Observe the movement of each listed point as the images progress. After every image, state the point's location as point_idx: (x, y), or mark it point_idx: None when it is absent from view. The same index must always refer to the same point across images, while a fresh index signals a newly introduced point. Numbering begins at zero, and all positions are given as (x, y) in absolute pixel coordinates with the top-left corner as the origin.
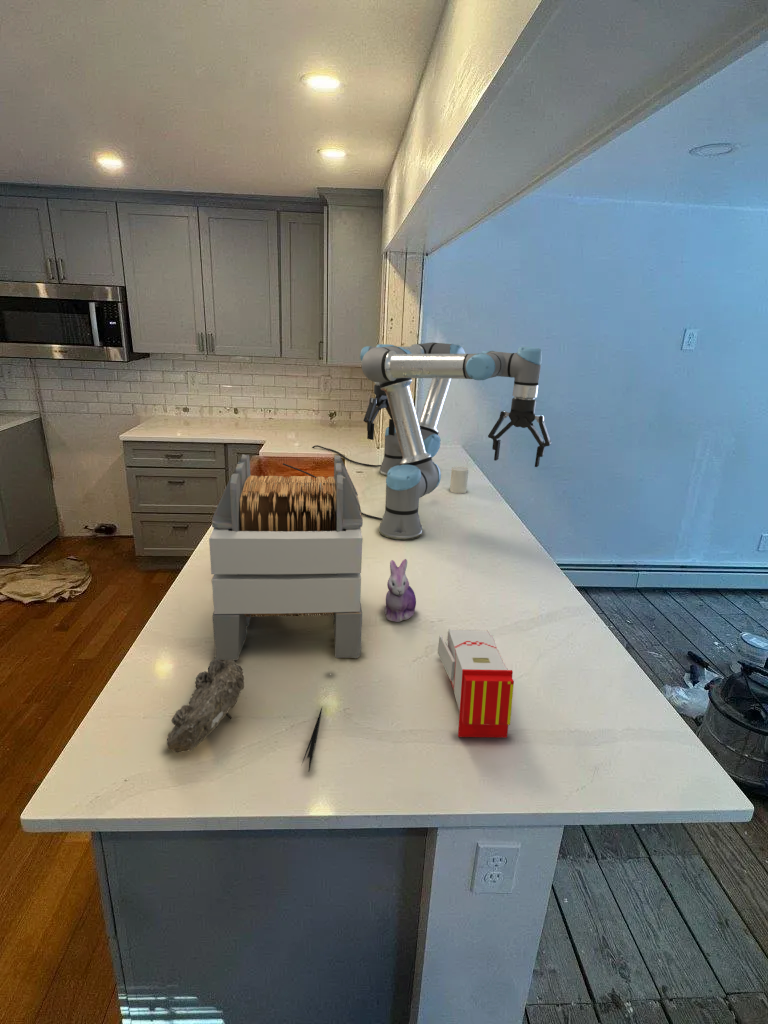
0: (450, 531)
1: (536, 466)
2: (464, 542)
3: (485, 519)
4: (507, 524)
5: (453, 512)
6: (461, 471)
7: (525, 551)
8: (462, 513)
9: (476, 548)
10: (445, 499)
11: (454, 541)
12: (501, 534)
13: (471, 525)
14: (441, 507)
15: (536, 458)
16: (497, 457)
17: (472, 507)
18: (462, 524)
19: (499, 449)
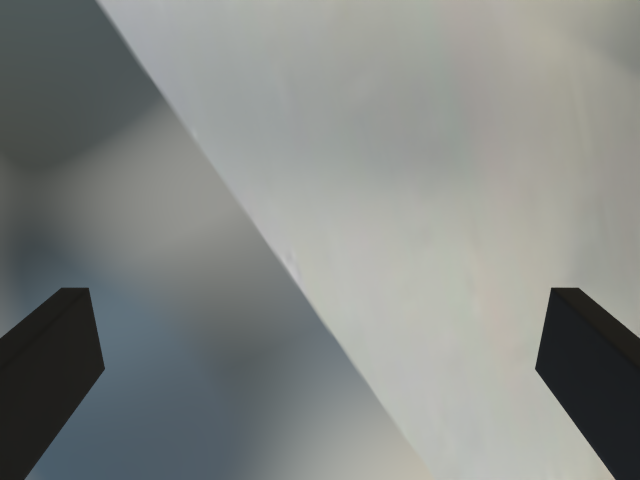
0: (549, 145)
1: (64, 290)
2: (470, 59)
3: (449, 335)
4: (364, 330)
5: None
6: None
7: (229, 110)
8: None
9: (409, 23)
10: None
11: (511, 45)
12: (358, 226)
13: (484, 251)
14: None
15: (17, 345)
16: (557, 343)
17: (519, 417)
18: (519, 243)
19: (600, 455)
